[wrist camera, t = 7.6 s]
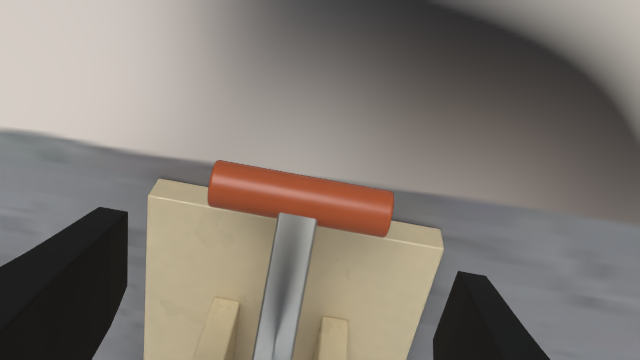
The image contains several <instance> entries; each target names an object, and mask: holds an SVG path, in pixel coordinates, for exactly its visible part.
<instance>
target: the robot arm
mask: <svg viewBox="0 0 640 360" xmlns="http://www.w3.org/2000/svg"><path fill="white" fill-rule="evenodd" d="M127 259H128V212H126V211H120V210H114V209H109V208H103V207H99V208H97V209H95V210H94V211H92V212H90V213H89V214H87V215H85V216H84V217H82V218H81V219H79V220H78V221H76V222H75V223H73V224H71V225H70V226H68V227H67V228H65V229H63V230H62V231H60V232H59V233H57V234H56V235H54V236H52V237H51V238H49V239H48V240H46V241H44V242H43V243H41V244H39V245H38V246H36V247H34V248H33V249H31V250H30V251H28V252H26V253H25V254H23V255H21V256H19V257H17V258H16V259H14V260H12V261H10V262H8V263H6V264H5V265H3V266H1V267H0V360H92V358H93V356H94V354H95V353H96V351H97V349H98V347H99V346H100V344H101V342H102V340H103V339H104V337H105V335H106V333H107V332H108V330H109V328H110V326H111V324H112V322H113V319H114V317H115V315H116V312H117V310H118V308H119V305H120V303H121V300H122V298H123V295H124V293H125V290H126V288H127ZM433 360H550V359H549V357H548V356H547V355H546V354H545V353H544V351H543V350H542V349H541V348H540V347H539V345H538V344H537V343H536V342H535V340H534V339H533V338H532V337H531V335H530V334H529V333H528V331H527V330H526V329H525V328H524V326H523V325H522V324H521V322H520V321H519V320H518V318H517V317H516V316H515V314H514V313H513V312H512V310H511V309H510V308H509V306H508V305H507V304H506V302H505V301H504V300H503V298H502V297H501V295H500V294H499V293H498V291H497V290H496V289H495V287H494V286H493V285H492V283H491V282H490V281H489V280H488V278H487V277H486V276H483V275H477V274H472V273H466V272H461V271H458V272H457V275H456V278H455V281H454V283H453V286H452V289H451V292H450V294H449V297H448V300H447V303H446V305H445V308H444V311H443V314H442V316H441V319H440V322H439V324H438V327H437V330H436V333H435V335H434V338H433Z"/></svg>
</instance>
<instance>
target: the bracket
mask: <svg viewBox="0 0 640 360" xmlns="http://www.w3.org/2000/svg"><path fill="white" fill-rule="evenodd" d="M207 196H208V187H204V186H198V185H193V184H187V183H182V182H176V181H171V180H165V179H158V181H157V182H156V184H155V185H154V187H153V189H152V190H151V192H150V193H149V195H148V213H147V251H146V290H145V329H144V360H251V359H252V354H253V348H254V343H255V337H256V332H257V326H258V321H259V315H260V310H261V304H262V299H263V293H264V288H265V282H266V277H267V271H268V266H269V260H270V255H271V249H272V243H273V238H274V232H275V227H276V221H277V219H275V218H269V217H264V216H258V215H253V214H247V213H242V212H236V211H231V210H225V209H219V208H214V207H210V206H209V205H208V201H207ZM443 251H444V246H443V241H442V236H441V230H440V229H436V228H430V227H425V226H419V225H414V224H408V223H403V222H397V221H392V220H391V224H390V228H389V231H388V233H387V235H386V237H384V238H380V237H375V236H369V235H364V234H358V233H353V232H347V231H342V230H336V229H330V228H325V227H319V226H317V228H316V233H315V239H314V244H313V250H312V255H311V261H310V266H309V272H308V277H307V283H306V288H305V293H304V299H303V304H302V310H301V315H300V321H299V326H298V332H297V337H296V343H295V348H294V354H293V359H292V360H406V359H407V356H408V353H409V350H410V347H411V344H412V341H413V338H414V335H415V332H416V330H417V327H418V324H419V321H420V318H421V315H422V312H423V309H424V306H425V303H426V300H427V298H428V295H429V292H430V289H431V286H432V283H433V280H434V277H435V274H436V271H437V269H438V266H439V263H440V260H441V257H442V254H443Z"/></svg>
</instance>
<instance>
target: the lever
mask: <svg viewBox="0 0 640 360" xmlns="http://www.w3.org/2000/svg"><path fill="white" fill-rule="evenodd" d="M207 201H208V205H209V206H210V207H214V208H219V209H225V210H231V211H236V212H242V213H247V214H253V215H258V216H264V217H269V218H275V219H277V221H276V227H275V232H274V238H273V243H272V249H271V255H270V260H269V266H268V271H267V277H266V282H265V288H264V293H263V299H262V304H261V310H260V315H259V321H258V326H257V332H256V337H255V343H254V348H253V354H252V359H251V360H292V359H293V354H294V348H295V343H296V337H297V332H298V326H299V321H300V315H301V310H302V304H303V299H304V293H305V288H306V283H307V277H308V272H309V266H310V261H311V255H312V250H313V244H314V239H315V233H316V228H317V226H319V227H325V228H330V229H336V230H342V231H347V232H353V233H358V234H364V235H369V236H375V237H380V238H384V237H386V235H387V233H388V231H389V228H390V224H391V220H392V215H393V208H394V195H393V192H391V191H386V190H381V189H375V188H370V187H364V186H359V185H353V184H348V183H342V182H337V181H331V180H326V179H320V178H315V177H309V176H304V175H298V174H293V173H287V172H282V171H277V170H271V169H266V168H260V167H255V166H249V165H244V164H238V163H233V162H227V161H221V160H218V161H216V163H215V164H214V166H213V169H212V173H211V177H210V181H209V187H208V196H207Z"/></svg>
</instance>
